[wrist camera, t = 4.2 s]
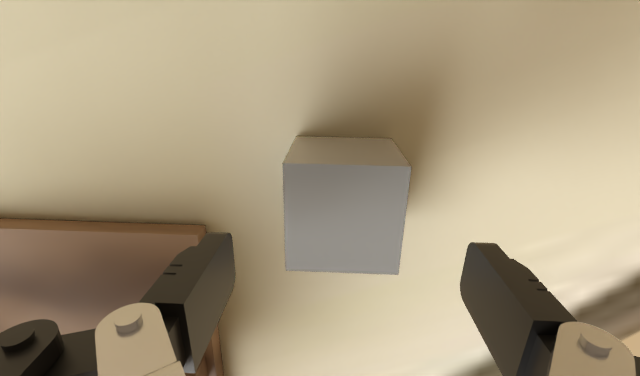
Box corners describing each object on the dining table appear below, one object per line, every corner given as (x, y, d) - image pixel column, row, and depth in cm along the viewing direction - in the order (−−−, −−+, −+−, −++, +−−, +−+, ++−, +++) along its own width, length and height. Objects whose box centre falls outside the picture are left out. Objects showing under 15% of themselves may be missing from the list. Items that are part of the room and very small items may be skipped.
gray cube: (296, 135, 18) (282, 163, 13) (391, 137, 17) (411, 166, 13) (297, 219, 19) (285, 270, 15) (382, 222, 19) (398, 274, 15)
